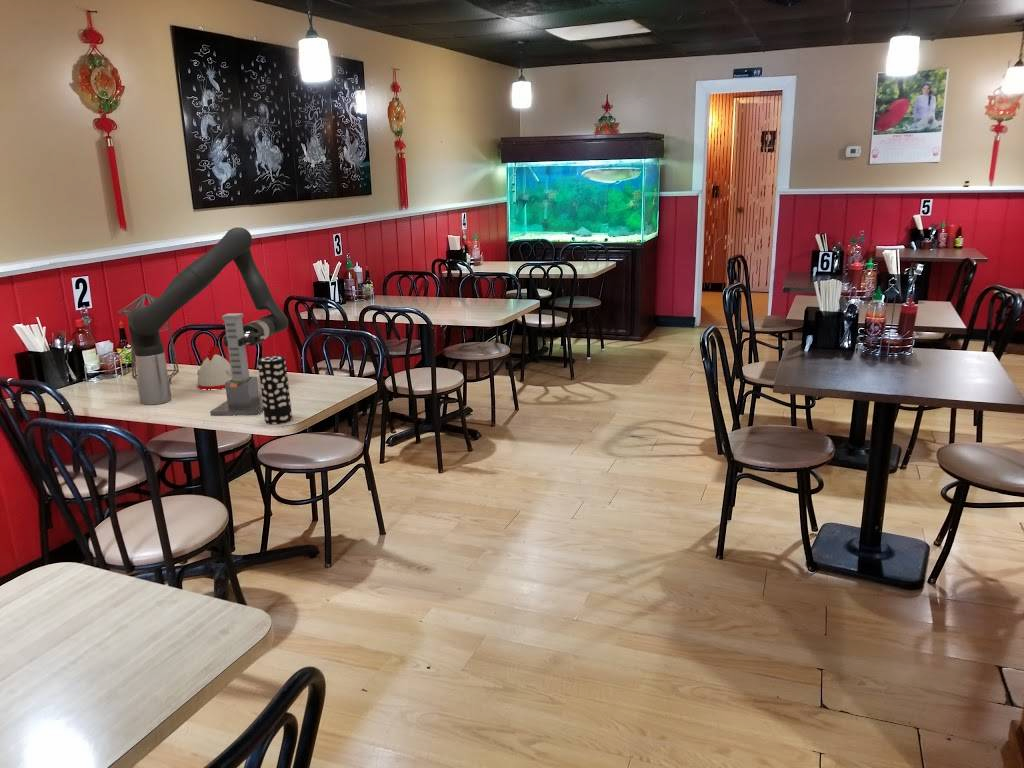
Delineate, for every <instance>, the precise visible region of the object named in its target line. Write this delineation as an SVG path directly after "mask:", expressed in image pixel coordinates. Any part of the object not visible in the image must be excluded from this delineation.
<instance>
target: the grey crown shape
mask: <svg viewBox="0 0 1024 768" xmlns="http://www.w3.org/2000/svg"><path fill="white" fill-rule="evenodd" d="M196 373H197V388H198V389H199V388H200V389H199V390H201V389H206V390H205V391H212V390H211V389H220V390H223V389H222V388H226V387H225V382H227V381H229V380H230V379H232V373H231V366H230V361H229V360H227V359H226V358H225V357H223V356H221V355H220V347H219V346H218V345H214V346H213V345H212V346H210V350H208V354H207V357H206V358H205V359H204V360H203V362H202V364H201V365H200V368H199V369H197V372H196ZM208 389H210V390H208Z"/></svg>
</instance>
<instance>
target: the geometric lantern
mask: <svg viewBox="0 0 1024 768" xmlns="http://www.w3.org/2000/svg"><path fill="white" fill-rule="evenodd" d="M157 298H158V297H155V296H153V295H151V294H148V293H145V294H144V293H143V294H142V295H141V296H139V297H138V298H136V299H135V300H134V301H132V302H131V303H129V304H128V305H126V306H125V307H123V308H121V309H120V310H118V314H122V315H123V316H126V317H127V318H128V316H129V313H130V312H131V311H132V310H133V309H134V308H137V307H146V306H147V305H144V303H145V301H146V299H147V300H148V303H149V304H151V303H152V302H153V301H155V300H156V299H157ZM129 307H130V308H129ZM127 308H129V309H128V310H127ZM165 324H166V325H167V326H162V327H161V328H160V329H162V330H159V333H161V332H165V331H168V334H169V342H170V348H171V349H170V350H171V355H172V356H171V357H172V361H173V369H167V372H172V373H170V374H168V379H169V382H170V383H171V384H172V383H173V382H172V379H173V378H174V377H175V376H176V375H177V374H178V373H180V370H179V365H178V361H177V355H176V350H175V346H174V340H173V336H172V330H171V325H170V318H169V319H168V320H167V321H166V323H165ZM163 328H165V329H163ZM130 348H131V351H130V352H131V354H130V356H131V373H132V375H131V377H132V379H134V380H135V381H137V380H136V377H137V376H138V373H137V364H136V358H135V352H134V349H133V346H132V342H131V341H130ZM170 383H169V385H171V384H170Z"/></svg>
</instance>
